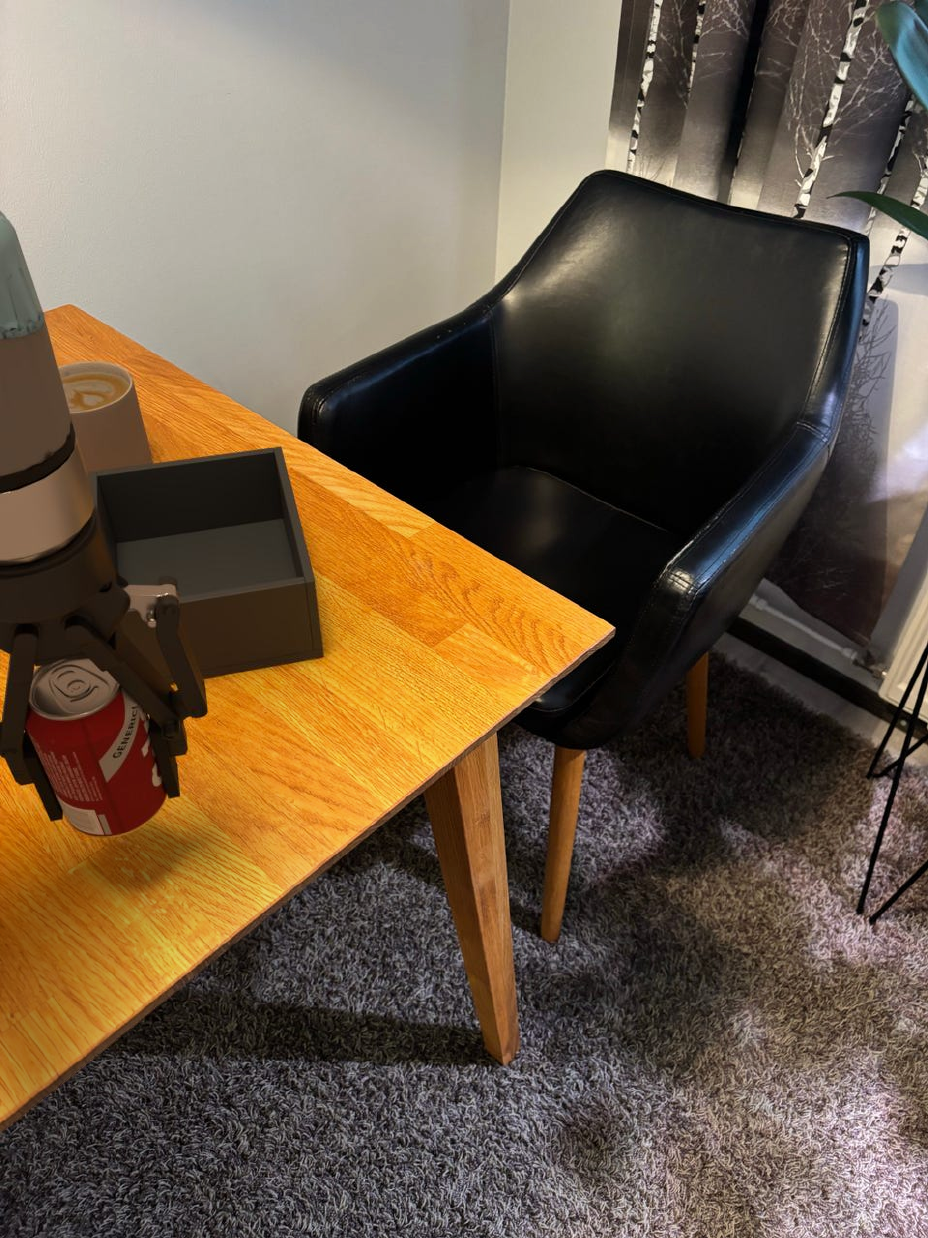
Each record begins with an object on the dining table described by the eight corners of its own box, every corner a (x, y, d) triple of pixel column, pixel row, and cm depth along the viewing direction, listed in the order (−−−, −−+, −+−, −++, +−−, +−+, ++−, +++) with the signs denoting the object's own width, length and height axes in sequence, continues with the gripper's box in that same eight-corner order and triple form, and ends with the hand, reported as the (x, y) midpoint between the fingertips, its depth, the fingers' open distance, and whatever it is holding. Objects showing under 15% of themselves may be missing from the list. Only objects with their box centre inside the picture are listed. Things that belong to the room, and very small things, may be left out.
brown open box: (114, 694, 81) (88, 618, 75) (110, 547, 94) (87, 471, 88) (323, 657, 85) (315, 580, 78) (291, 520, 98) (281, 445, 92)
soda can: (102, 863, 62) (52, 745, 53) (46, 802, 65) (-9, 682, 57) (190, 800, 65) (156, 680, 57) (133, 745, 69) (93, 624, 60)
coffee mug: (152, 491, 101) (131, 407, 94) (52, 501, 99) (23, 417, 92) (153, 421, 110) (135, 340, 103) (62, 429, 108) (36, 348, 101)
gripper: (211, 454, 53) (257, 723, 69) (-184, 502, 49) (-38, 777, 65) (225, 539, 48) (271, 808, 64) (-215, 601, 44) (-49, 872, 60)
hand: (115, 792), depth 65 cm, fingers closed on soda can, 7 cm apart
